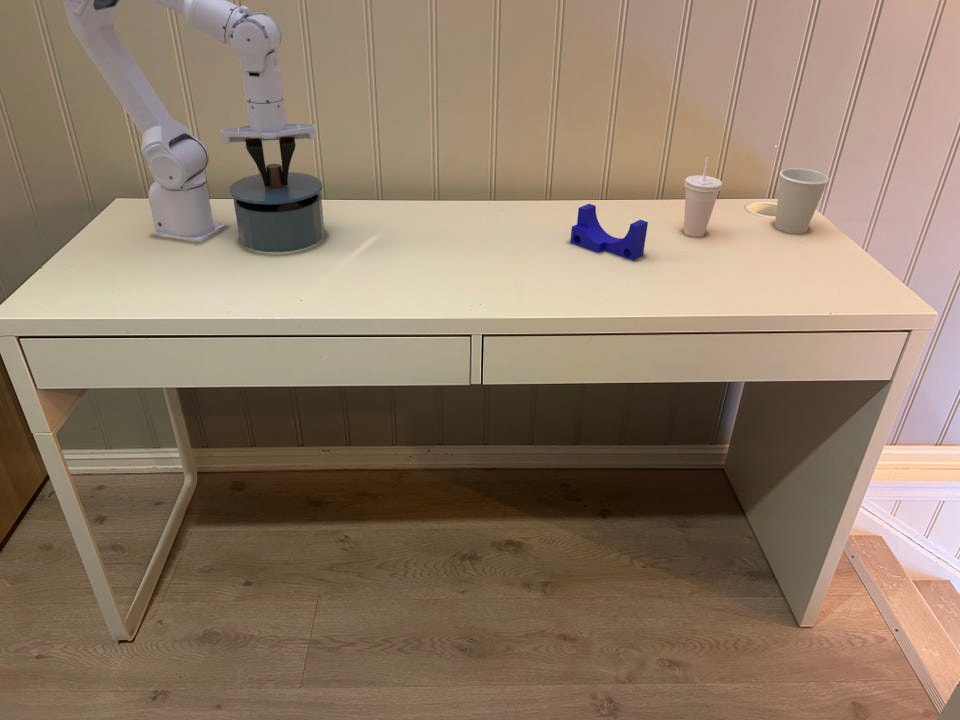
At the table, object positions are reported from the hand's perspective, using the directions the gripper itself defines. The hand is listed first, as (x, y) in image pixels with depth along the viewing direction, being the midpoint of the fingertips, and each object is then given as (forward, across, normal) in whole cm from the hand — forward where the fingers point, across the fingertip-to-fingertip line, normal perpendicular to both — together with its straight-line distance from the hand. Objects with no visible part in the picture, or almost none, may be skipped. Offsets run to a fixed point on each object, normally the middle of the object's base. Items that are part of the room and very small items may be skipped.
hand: (275, 183), depth 122 cm
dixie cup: (+10, +91, -15) cm, 93 cm away
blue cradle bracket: (+10, +54, -17) cm, 57 cm away
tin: (+10, 0, 0) cm, 10 cm away
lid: (+1, 0, 0) cm, 1 cm away
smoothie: (+10, +72, -14) cm, 74 cm away
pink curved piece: (+10, 0, 0) cm, 10 cm away
